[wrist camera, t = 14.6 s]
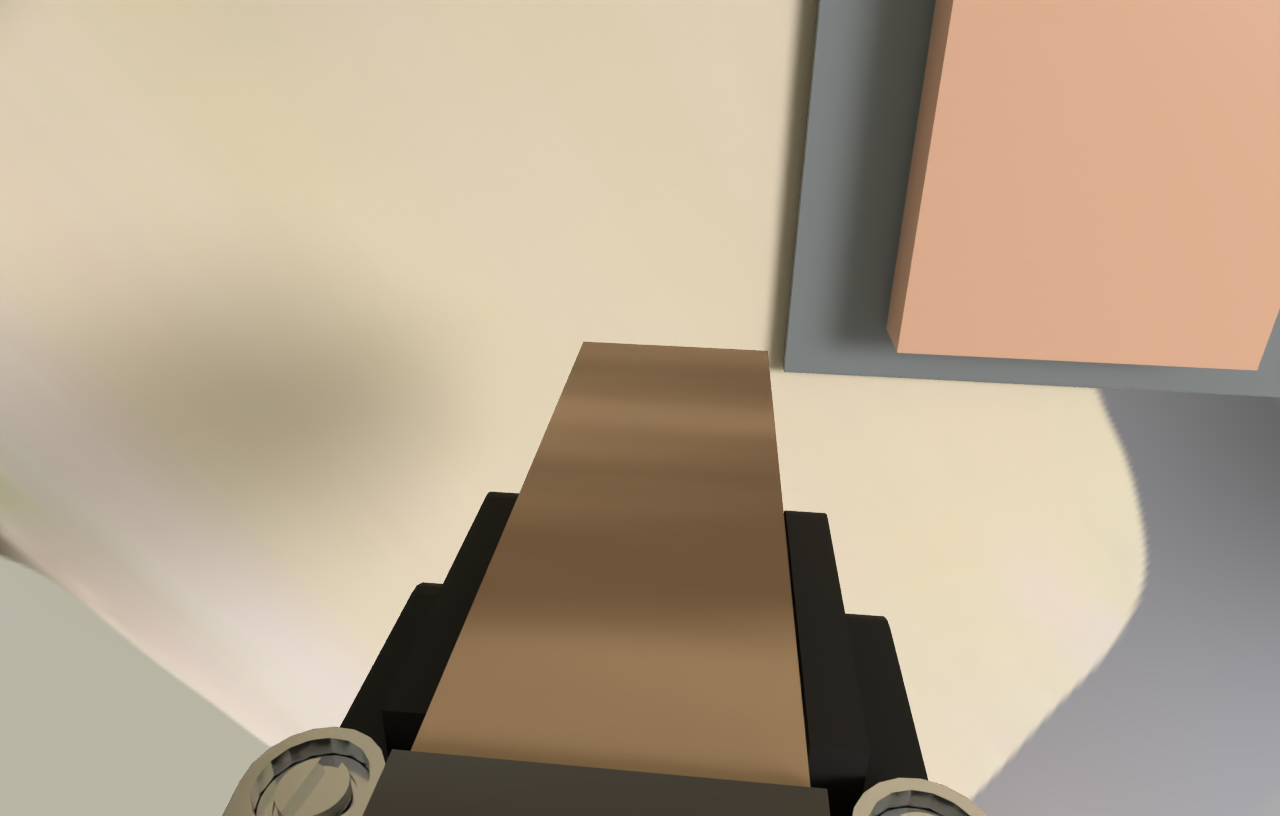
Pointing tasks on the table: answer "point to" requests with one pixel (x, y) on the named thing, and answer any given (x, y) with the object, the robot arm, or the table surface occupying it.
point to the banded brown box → (629, 614)
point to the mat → (873, 212)
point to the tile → (1095, 184)
